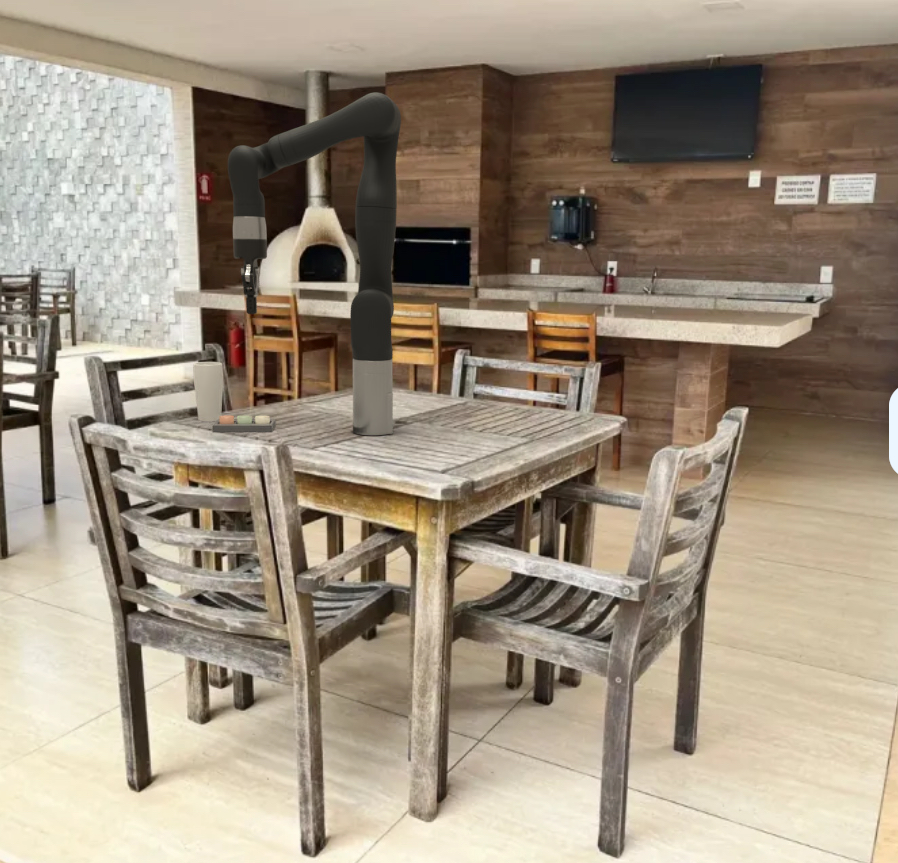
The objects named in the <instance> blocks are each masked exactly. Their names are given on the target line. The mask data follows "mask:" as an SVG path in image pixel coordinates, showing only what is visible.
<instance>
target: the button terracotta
mask: <svg viewBox="0 0 898 863" xmlns="http://www.w3.org/2000/svg"><path fill="white" fill-rule="evenodd" d="M234 419H235V416H234V415H229V414H224V415H223V414H222V415H221V416H219V422H220V424H234Z"/></svg>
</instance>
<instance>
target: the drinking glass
mask: <svg viewBox="0 0 898 863" xmlns="http://www.w3.org/2000/svg"><path fill="white" fill-rule="evenodd" d="M192 374H193V384H194V385H193V386H194V392H195V401H196V409H197V410H196V411H197V418H198V421H200V422H216V421H217V420H218V419H219V416H222V408H223V406H222V405H223V389H224V387H223V386H224V370H223V363H222V362H219V361H198V362H194V363H193V373H192Z"/></svg>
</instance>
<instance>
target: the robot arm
mask: <svg viewBox="0 0 898 863" xmlns="http://www.w3.org/2000/svg"><path fill="white" fill-rule="evenodd" d="M401 118H402V116H401V112H400V109H399V106H398V105H397V104H396V102H395V101H393V100H392V98H390V97H389V96H388V95H386V94H384V93H382V92H377V91H376V92H370V93H367V94H365V95H364V96H362V97H360V98H358V99H357V100H355V101H353V102H352V103H349V104H348V105H346V106H345V107H343V108H341V109H339V110H338V111H335V112H332V113H331V114H329V115H327V116H325V117H322V118H320V119H317V120H314V121H312V122H309V123H307V124H303V125H301V126H299V127H295V128H292V129H289V130H286V131H284V132H281V133H279V134H276V135H273V136H272V137H271V138H270V139H269V140H268V142H265V143H263V144H261V145H259V146H255V147H251V146H249V145H244V144H243V145H237V146H235V147H234V148H232V149H231V150H230V152H229V154H228V159H227V171H228V172H227V173H228V178H229V183H230V189H231V192H232V197H233V198H232V199H233V201H232V202H233V203H232V205H233V207H232V208H233V222H232V245H233V251H232V252H233V258H234V259H242V260H243V266H241V267H240V274H241V275H240V276H241V279H242V288H243V295H244V296H245V300H246V302H245V303H246V304H245V306H246V308H245V309H246V314H248V315H256V314H257V312H258V304H257V303H258V302H257V301H258V299H257V298H258V296H259V294H260V292H259V291H260V290H259V288H260V276H261V267H260V266H258V260H263V259H264V260H265V259H267V257H268V244H267V243H268V239H267V237H268V236H267V223H266V209H265V208H266V207H265V206H266V203H265V197H264V194H263V193H262V191H261V189H260V181H259V180H260V179H263V178H266V177H268V176H270V175H272V174H274V173H276V172H278V171H279V170H282V169H283V168H286V167H290V166H293V165H295V164H298V163H302V162H304V161H307V160H309V159H311V158H314V157H316V156H317V155H320V154H321V153H323V152H324V151H326V150H328V149H330V148H331V147H333V146H336V145H338V144H340V143H342V142H345V141H348V140H352V139H356V138H361V137H363V154H364V156H363V167H362V171H361V175H360V179H359V183H358V186H357V192H356V200H355V213H354V214H355V223H354V228H355V239H356V245H357V252H358V256H359V257H358V258H359V278H358V279H359V283H358V290H357V294H356V295H355V297H354V298H353V299H352V301H351V305H350V311H349V312H350V317H349V318H350V344H351V346H350V347H351V354H352V432H353V433H354V434H357V435H363V436H381V435H382V436H383V435H393V432H394V431H393V430H394V429H393V428H394V427H393V426H394V424H393V423H394V422H393V421H394V418H393V414H394V413H393V410H394V407H393V406H394V405H393V404H394V400H393V398H394V396H393V395H394V394H393V356H394V353H393V341H392V318H393V316H394V312H395V311H394V310H395V307H394V305H395V304H394V295H393V280H392V279H393V277H392V276H393V275H392V272H393V271H392V270H393V269H392V267H393V257H394V250H395V243H396V242H395V241H396V231H397V211H398V210H397V209H398V208H397V207H398V205H397V201H398V200H397V190H398V189H397V188H398V187H397V167H396V166H397V165H396V164H397V155H398V153H397V152H398V145H399V137H400V132H401V131H400V130H401V124H402V119H401Z"/></svg>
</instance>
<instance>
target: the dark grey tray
mask: <svg viewBox="0 0 898 863" xmlns="http://www.w3.org/2000/svg"><path fill="white" fill-rule="evenodd" d="M275 428H276V419H275V418H270V424H255V418H252V424H238V423H237V419H236V418H234V424H220V422H219V419H218V420H217V421H214V423H213V424H212V433H273V431H274V429H275Z"/></svg>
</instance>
